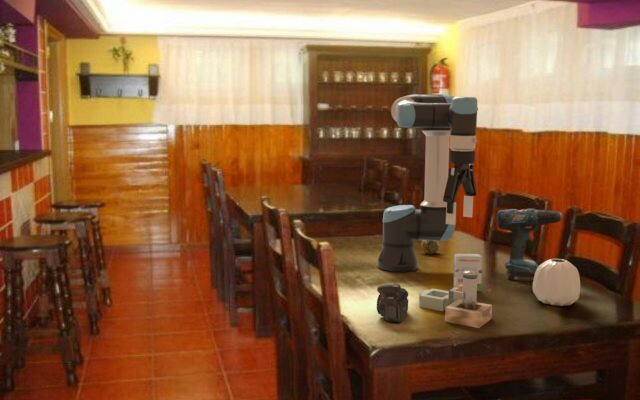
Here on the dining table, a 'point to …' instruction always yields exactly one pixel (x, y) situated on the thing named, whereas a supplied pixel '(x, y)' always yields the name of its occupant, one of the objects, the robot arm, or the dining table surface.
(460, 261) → the ink box
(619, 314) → the dining table surface
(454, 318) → the block
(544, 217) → the power drill
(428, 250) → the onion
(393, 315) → the camera
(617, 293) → the dining table surface
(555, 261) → the vase
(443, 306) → the socket block
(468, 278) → the metal peg
